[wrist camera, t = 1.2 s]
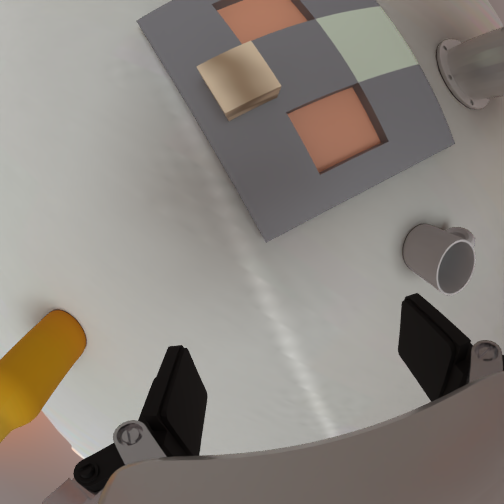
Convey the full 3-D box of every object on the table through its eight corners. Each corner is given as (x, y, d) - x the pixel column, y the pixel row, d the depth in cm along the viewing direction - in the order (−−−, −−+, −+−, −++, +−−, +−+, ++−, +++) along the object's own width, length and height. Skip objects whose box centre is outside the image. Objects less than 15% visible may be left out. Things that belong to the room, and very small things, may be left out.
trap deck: (327, -38, 21) (331, -46, 18) (444, 143, 30) (454, 143, 27) (142, 28, 25) (136, 20, 22) (264, 237, 34) (265, 242, 31)
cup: (394, 241, 34) (429, 262, 25) (441, 203, 32) (481, 215, 24) (410, 279, 36) (443, 306, 27) (454, 242, 34) (490, 261, 26)
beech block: (250, 56, 25) (250, 40, 21) (277, 97, 26) (281, 86, 22) (203, 79, 26) (196, 66, 21) (228, 121, 27) (225, 113, 23)
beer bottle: (41, 318, 38) (-50, 414, 10) (64, 300, 37) (-46, 413, 9) (70, 357, 40) (-4, 465, 13) (96, 344, 39) (13, 473, 11)
